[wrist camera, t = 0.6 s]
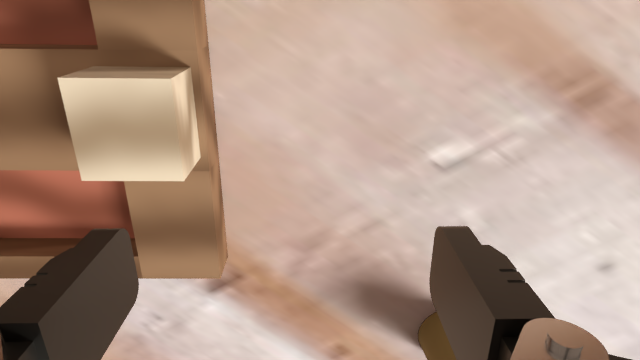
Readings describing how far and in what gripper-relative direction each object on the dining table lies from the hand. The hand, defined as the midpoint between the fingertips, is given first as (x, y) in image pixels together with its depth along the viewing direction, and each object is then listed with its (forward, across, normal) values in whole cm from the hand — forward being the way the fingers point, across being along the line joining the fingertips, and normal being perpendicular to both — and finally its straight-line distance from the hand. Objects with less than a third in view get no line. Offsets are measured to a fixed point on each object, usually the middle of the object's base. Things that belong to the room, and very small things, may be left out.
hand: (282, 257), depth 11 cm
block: (+18, +10, 0) cm, 20 cm away
